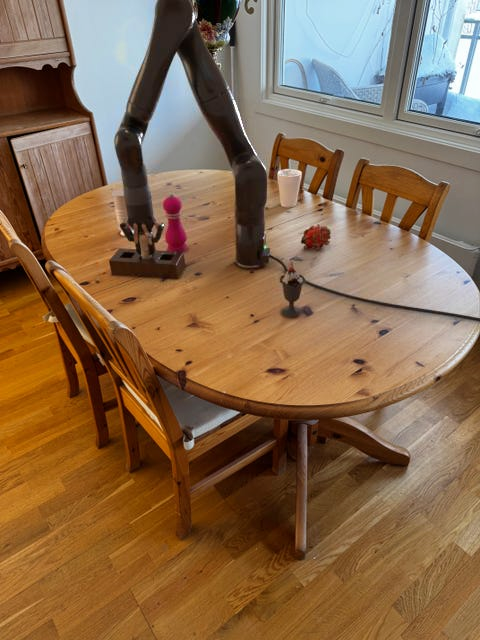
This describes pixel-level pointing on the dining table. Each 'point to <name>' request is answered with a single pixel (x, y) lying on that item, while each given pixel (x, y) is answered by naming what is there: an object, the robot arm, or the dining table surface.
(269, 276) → the dining table surface
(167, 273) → the dark brown hollow block
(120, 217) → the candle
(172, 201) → the pepper mill
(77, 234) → the dining table surface
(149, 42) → the robot arm
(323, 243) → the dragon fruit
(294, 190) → the foam cup
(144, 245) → the peg
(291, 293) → the sundae
